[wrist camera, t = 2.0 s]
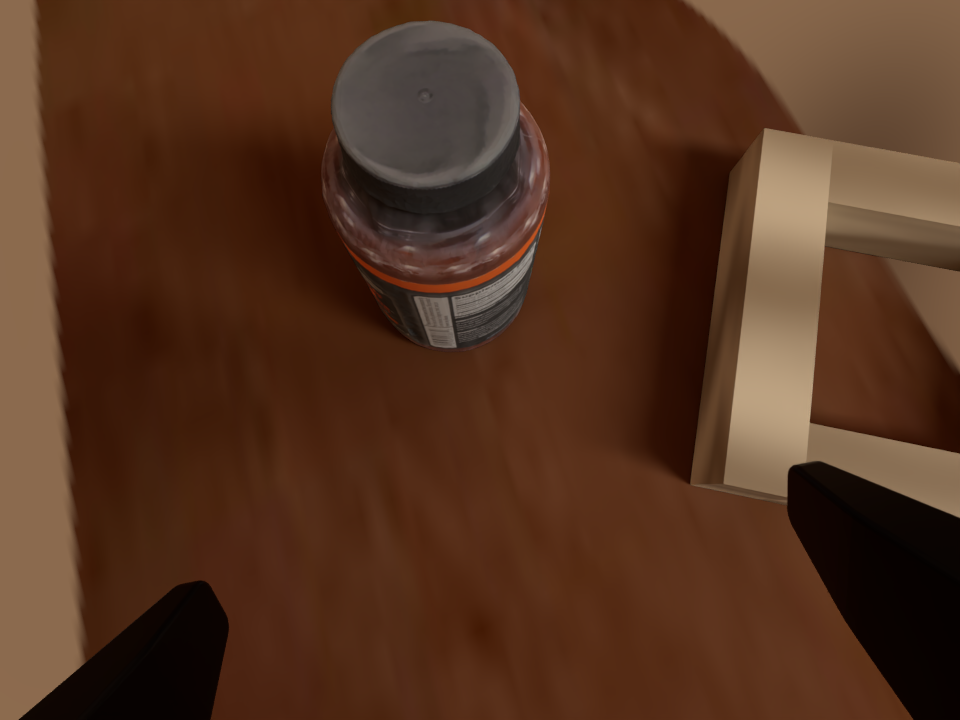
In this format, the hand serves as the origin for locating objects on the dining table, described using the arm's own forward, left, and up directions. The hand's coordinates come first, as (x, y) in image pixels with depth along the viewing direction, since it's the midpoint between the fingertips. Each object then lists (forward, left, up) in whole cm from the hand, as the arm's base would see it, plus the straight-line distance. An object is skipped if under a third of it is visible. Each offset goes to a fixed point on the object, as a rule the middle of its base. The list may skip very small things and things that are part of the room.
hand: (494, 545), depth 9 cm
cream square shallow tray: (+12, -11, -12) cm, 20 cm away
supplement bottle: (+7, +5, -13) cm, 16 cm away
